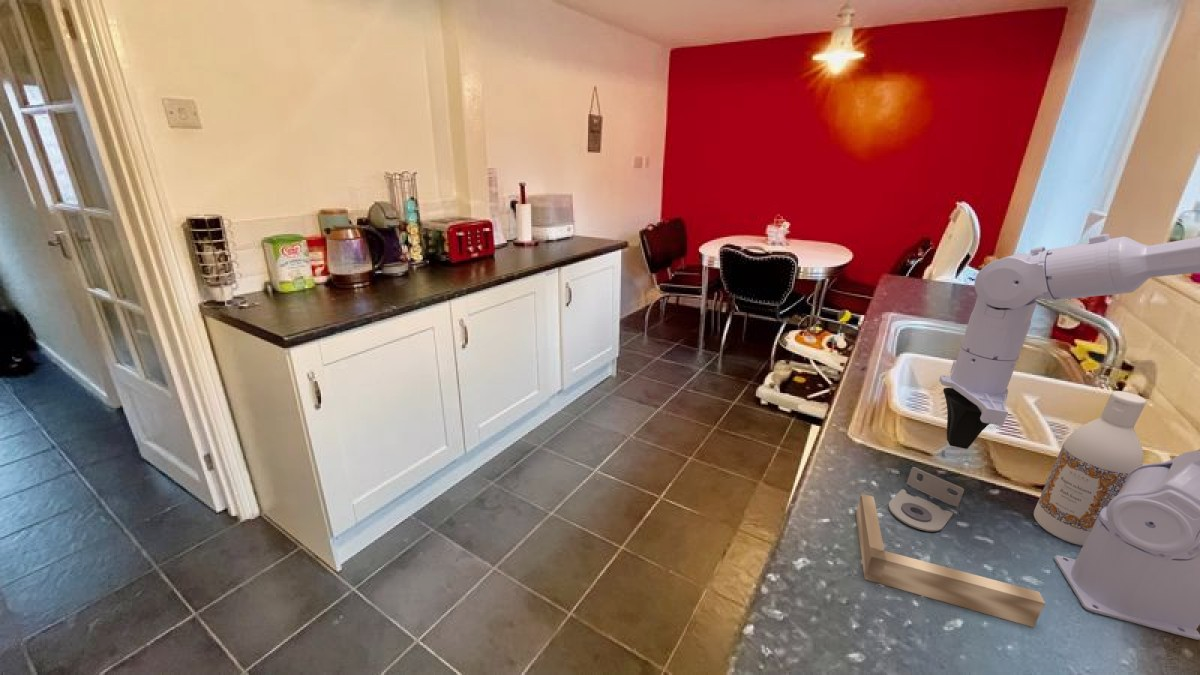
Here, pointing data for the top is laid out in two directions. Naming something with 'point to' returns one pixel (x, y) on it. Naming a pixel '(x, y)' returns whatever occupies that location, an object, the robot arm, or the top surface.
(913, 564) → the l-shaped wooden block
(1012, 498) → the top surface
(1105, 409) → the bath foam
